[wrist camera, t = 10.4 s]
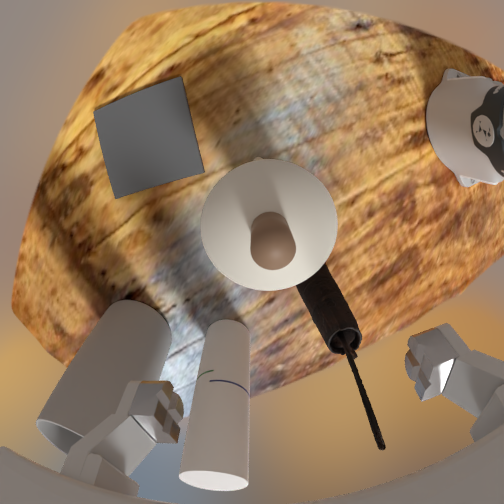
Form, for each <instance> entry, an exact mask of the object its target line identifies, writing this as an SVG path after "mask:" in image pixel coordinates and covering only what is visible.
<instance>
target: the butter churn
mask: <svg viewBox="0 0 504 504" xmlns="http://www.w3.org/2000/svg"><path fill="white" fill-rule="evenodd" d="M296 287H297V289H298V291H299V293H300V295H301V297H302V299H303V301H304V303H305V305H306V306H307V308H308V310H309V312H310V315H311V316H312V320H313V322H314V323H315V324H316V326H317V328H318V330H319V332H320V333H321V335H322V337H323V339H324V341H325V343H326V345H327V347H328V348H329V350H330V351H331V352H332V353H335V354H341V355H344V354H345V353H346V356H347V359H348V362H349V364H350V366H351V369H352V372H353V374H354V377H355V380H356V383H357V385H358V388H359V392H360V395H361V397H362V402H363V404H364V407H365V410H366V413H367V416H368V420H369V422H370V426H371V429H372V432H373V434H374V437H375V441H376V443H377V445H378V448H379V449H380V450H384V449H385V448H386V447H385V443H384V440H383V438H382V435H381V432H380V429H379V426H378V423H377V420H376V417H375V415H374V412H373V410H372V407H371V404H370V401H369V398H368V397H367V394H366V390H365V388H364V386H363V384H362V380H361V379H360V376H359V373H358V369H357V367H356V365H355V362H354V359H355V358H357V354H356V352H355V351H354V350H357V349H358V348H359V345H360V343H361V340H362V334H361V333H360V330H359V328H358V324H357V321H356V319H355V318H354V316H353V314H352V312H351V310H350V308H349V306H348V304H347V302H346V300H345V299H344V297H343V295H342V293H341V291H340V289H339V287H338V285H337V284H336V282H335V280H334V279H333V277H332V276H331V274H330V272H329V270H328V268H327V267H326V265H325V264H323V265H322V267H321V268H320V269H319V270H318V271H317V272H316V273H315V274H313V275H312V276H311V277H309V278H308V279H307V280H305V281H303V282H301V283H299V284H297V285H296Z"/></svg>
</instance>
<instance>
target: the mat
mask: <svg viewBox="0 0 504 504" xmlns="http://www.w3.org/2000/svg"><path fill="white" fill-rule="evenodd" d="M93 113H94V118H95V123H96V127H97V132H98V136H99V141H100V145H101V149H102V153H103V157H104V161H105V165H106V168H107V172H108V176H109V179H110V183H111V186H112V190H113V193H114V196H115V199H117V198H120V197H123V196H126V195H129V194H132V193H136V192H139V191H142V190H145V189H148V188H151V187H155V186H158V185H161V184H165V183H168V182H172V181H175V180H179V179H182V178H186V177H190V176H193V175H197V174H201V173H204V172H205V171H204V167H203V163H202V159H201V155H200V151H199V147H198V143H197V139H196V134H195V130H194V126H193V122H192V118H191V114H190V110H189V105H188V101H187V97H186V92H185V88H184V84H183V79H182V77H181V76H180V77H177V78H174V79H171V80H168V81H165V82H162V83H160V84H157V85H154V86H151V87H149V88H146V89H144V90H141V91H138V92H136V93H134V94H131V95H129V96H126V97H124V98H122V99H119V100H117V101H115V102H113V103H111V104H108V105H106V106H104V107H102V108H100V109H98V110H96V111H94V112H93Z"/></svg>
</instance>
